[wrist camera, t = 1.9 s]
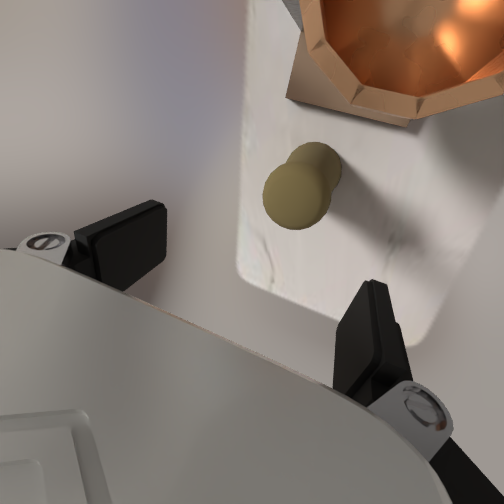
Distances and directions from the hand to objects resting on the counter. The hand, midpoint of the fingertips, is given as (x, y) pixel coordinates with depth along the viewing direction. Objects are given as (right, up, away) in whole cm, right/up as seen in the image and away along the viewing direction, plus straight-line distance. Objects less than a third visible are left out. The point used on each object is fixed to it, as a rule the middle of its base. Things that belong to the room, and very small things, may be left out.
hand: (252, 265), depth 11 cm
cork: (+7, +9, +15) cm, 19 cm away
